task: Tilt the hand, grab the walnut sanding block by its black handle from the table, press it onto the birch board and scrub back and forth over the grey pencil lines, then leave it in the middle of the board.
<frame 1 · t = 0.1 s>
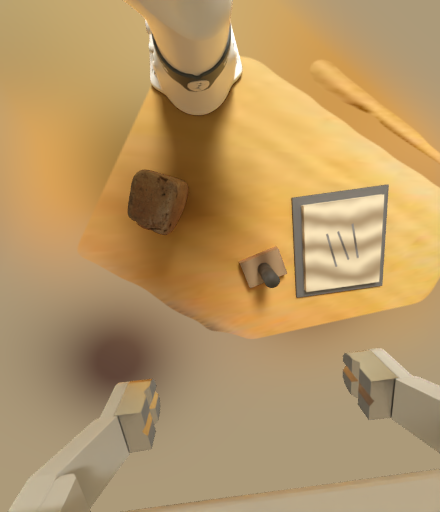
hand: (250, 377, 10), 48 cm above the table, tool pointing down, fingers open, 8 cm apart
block: (170, 201, 54), on the table
sanding block: (261, 265, 60), on the table
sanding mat: (338, 243, 59), on the table
board: (340, 244, 58), resting on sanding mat
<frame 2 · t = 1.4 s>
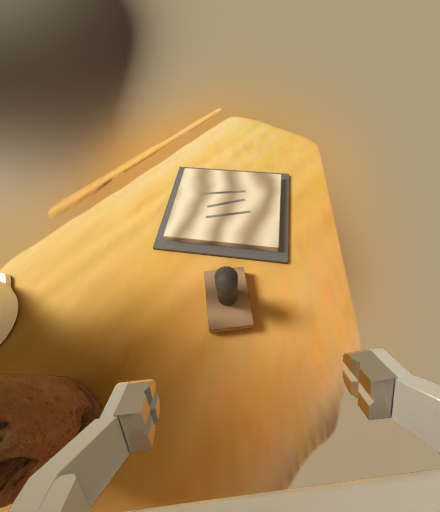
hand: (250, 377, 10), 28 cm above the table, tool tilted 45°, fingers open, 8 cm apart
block: (78, 417, 33), on the table
sanding block: (227, 301, 40), on the table
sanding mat: (226, 209, 50), on the table
board: (226, 207, 49), resting on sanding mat
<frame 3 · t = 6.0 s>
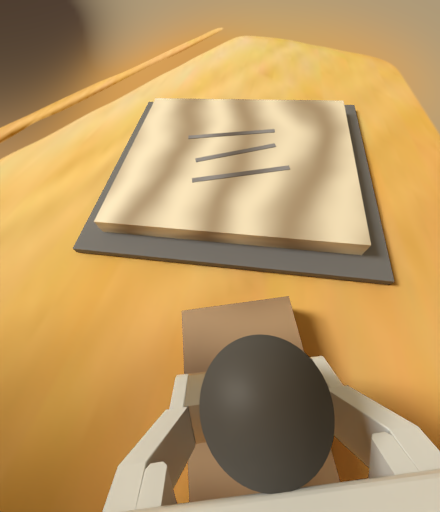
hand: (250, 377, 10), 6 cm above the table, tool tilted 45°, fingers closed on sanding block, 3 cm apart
sanding block: (247, 391, 15), on the table, touching gripper
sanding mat: (235, 170, 25), on the table
board: (235, 165, 24), resting on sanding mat
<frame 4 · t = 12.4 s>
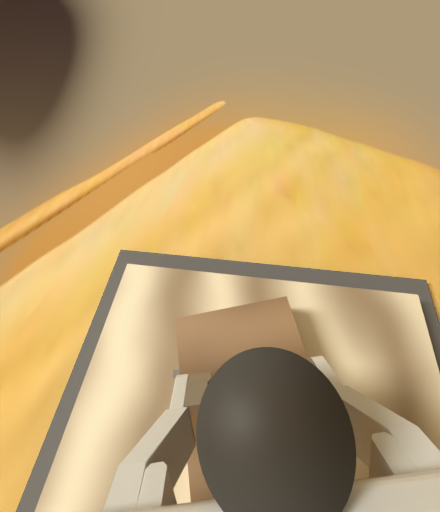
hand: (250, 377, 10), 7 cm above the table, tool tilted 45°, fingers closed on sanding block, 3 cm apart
sanding block: (248, 399, 14), point 2 cm above the table, touching gripper
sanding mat: (250, 423, 15), on the table
board: (250, 425, 15), resting on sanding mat
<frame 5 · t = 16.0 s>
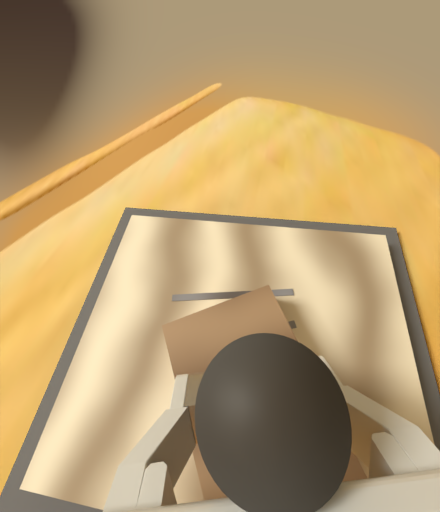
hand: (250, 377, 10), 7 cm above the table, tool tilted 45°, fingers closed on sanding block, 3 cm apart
sanding block: (247, 391, 14), point 2 cm above the table, touching gripper
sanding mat: (238, 341, 18), on the table
board: (238, 340, 17), resting on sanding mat
when the fingers open (8 cm above the table, at t = 19.0 s): sanding block stays where it is, resting on board.
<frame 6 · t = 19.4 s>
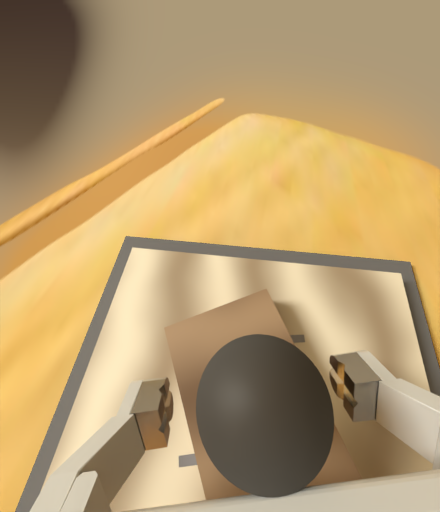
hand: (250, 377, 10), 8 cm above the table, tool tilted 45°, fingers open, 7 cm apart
sanding block: (246, 391, 15), point 2 cm above the table, touching board
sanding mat: (245, 389, 17), on the table
board: (246, 389, 16), resting on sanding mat
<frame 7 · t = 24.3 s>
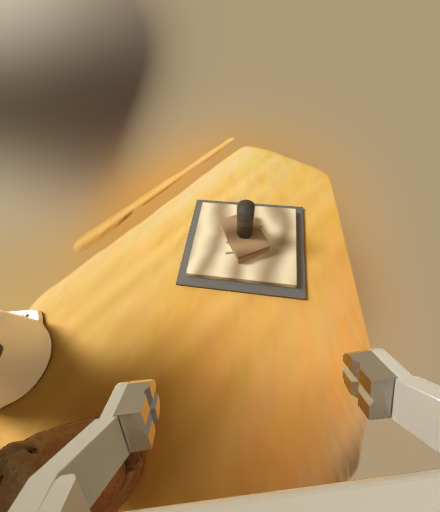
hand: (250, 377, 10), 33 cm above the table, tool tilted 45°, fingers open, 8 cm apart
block: (114, 455, 35), on the table
sanding block: (244, 238, 50), point 2 cm above the table, touching board
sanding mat: (244, 244, 52), on the table
board: (244, 242, 52), resting on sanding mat
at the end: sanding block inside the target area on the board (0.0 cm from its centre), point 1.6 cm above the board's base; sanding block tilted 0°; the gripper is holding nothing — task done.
